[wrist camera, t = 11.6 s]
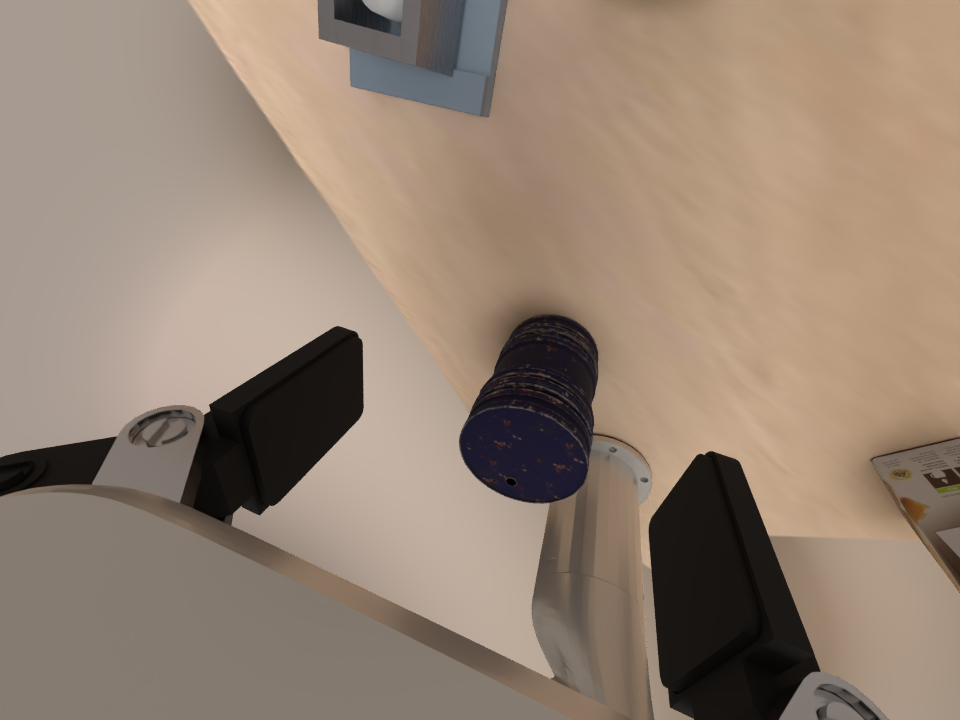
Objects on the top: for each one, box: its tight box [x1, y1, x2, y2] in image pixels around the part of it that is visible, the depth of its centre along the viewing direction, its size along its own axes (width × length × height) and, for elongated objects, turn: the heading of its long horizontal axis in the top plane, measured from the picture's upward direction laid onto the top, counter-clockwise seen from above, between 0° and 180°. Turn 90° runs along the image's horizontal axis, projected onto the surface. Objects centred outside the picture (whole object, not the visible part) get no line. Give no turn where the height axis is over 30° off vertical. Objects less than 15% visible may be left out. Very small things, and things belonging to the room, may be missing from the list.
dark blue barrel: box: [459, 315, 598, 504], centre depth 32 cm, size 10×10×15 cm
